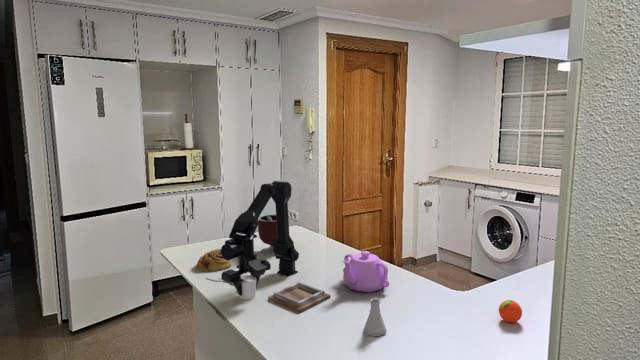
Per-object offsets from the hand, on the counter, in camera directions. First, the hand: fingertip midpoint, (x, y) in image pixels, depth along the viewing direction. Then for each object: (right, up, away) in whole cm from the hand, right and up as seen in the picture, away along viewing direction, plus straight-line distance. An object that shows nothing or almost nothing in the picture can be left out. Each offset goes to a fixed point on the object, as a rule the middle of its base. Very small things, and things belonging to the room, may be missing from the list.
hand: (247, 292), depth 160 cm
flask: (+44, -5, -26) cm, 51 cm away
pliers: (-11, 0, +17) cm, 21 cm away
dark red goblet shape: (+4, +6, +50) cm, 51 cm away
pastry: (-20, +3, +32) cm, 38 cm away
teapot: (+43, 0, +7) cm, 44 cm away
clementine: (+87, -4, -21) cm, 90 cm away
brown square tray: (+19, -2, -2) cm, 19 cm away
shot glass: (0, -2, 0) cm, 2 cm away
